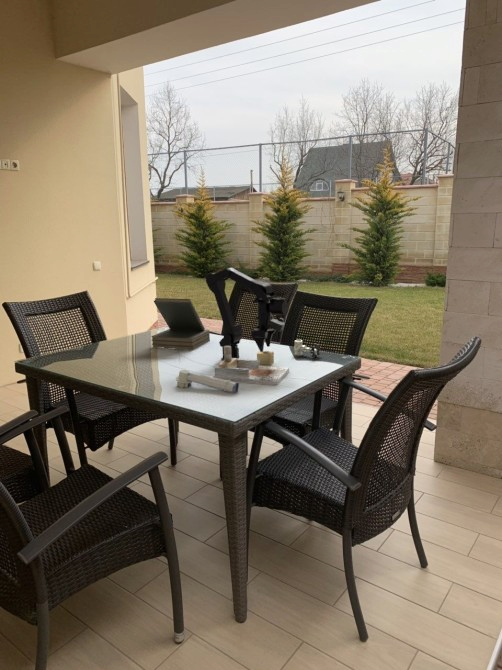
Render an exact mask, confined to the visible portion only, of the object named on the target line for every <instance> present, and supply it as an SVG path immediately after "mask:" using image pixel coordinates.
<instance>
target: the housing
mask: <svg viewBox="0 0 502 670" xmlns="http://www.w3.org/2000/svg"><path fill="white" fill-rule="evenodd" d="M274 355H275V352H274V351H273V350H272V351H271V350H270V351H269V350H263V352H260V351H258V352H257V353H256V360H259V362H260V366H269V367H272V365H273V364H274V363H275V359H274V358H275V356H274Z"/></svg>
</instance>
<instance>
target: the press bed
mask: <svg viewBox="0 0 502 670" xmlns="http://www.w3.org/2000/svg"><path fill="white" fill-rule="evenodd" d="M213 368H214V369H213V370H214V374H213V375H212V377H213V378H218V379H223V380H230V381H232V382H236V383H247V384H256V385H257V384H258V385H259V384H260V385H270V386H271V385H272V386H277V385H279V383H280V382H281V381H282V380H283V379H284V378H285V377H286V376H287V374H288V373H290V367H282V366H281V367H280V366H270V365H260V362H259V360H257V359H249V358H247V359H245V358H237V367H236V368H232V367H219V365H217V366H214V367H213Z"/></svg>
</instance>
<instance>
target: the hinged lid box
mask: <svg viewBox="0 0 502 670" xmlns="http://www.w3.org/2000/svg"><path fill="white" fill-rule="evenodd" d="M153 303H154V305H155V307H156V308H157V310H158V311H159V313H160V315H161V316H162V318H163V320H164V322H165V323H166V325H167V327H168V329H165V330H163V331H161V332H158V333H155V334H154V335H151V338H152V339H151V341H152V344H151V346H152V348H153V347H164V348H163V349H168V348H175V349H174V350H184V349H188V350H187V351H195V349H198V348H199V347H201V346H203V345H205V344H207V343H208V341H209V342H210V341H211V339H210V338H211V337H210V330H209V329H205V326H204V324H203V322H202V319H200V317H199V314H198V311H196V308H195V306H194V304H193V303H192V300H191V299H190V298H161V297H159V298H158V297H157V298H156V297H155V298H154V300H153Z"/></svg>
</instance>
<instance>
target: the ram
mask: <svg viewBox="0 0 502 670" xmlns="http://www.w3.org/2000/svg"><path fill="white" fill-rule="evenodd" d="M237 359H238V358H232V355H231V346H224V360H222V361H221V362H220V363H218V367H232V368H236V367H237Z"/></svg>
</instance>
